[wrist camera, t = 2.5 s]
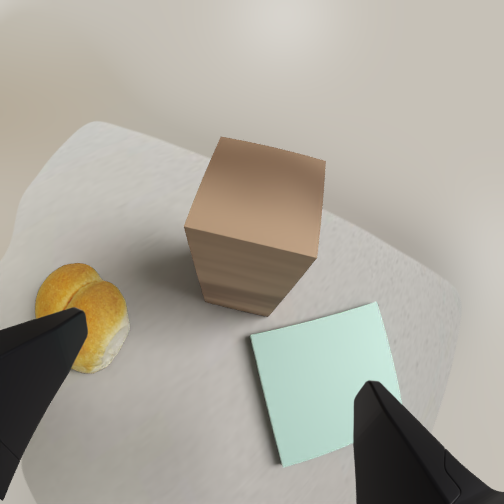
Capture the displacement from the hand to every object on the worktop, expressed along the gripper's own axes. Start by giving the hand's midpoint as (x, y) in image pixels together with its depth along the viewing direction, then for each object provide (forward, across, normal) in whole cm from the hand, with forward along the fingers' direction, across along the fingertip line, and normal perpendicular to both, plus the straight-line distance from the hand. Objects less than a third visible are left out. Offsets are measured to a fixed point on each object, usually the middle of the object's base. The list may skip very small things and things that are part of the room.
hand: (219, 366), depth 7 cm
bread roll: (+9, +12, +9) cm, 18 cm away
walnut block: (+14, 0, +4) cm, 15 cm away
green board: (+9, -9, +9) cm, 15 cm away
